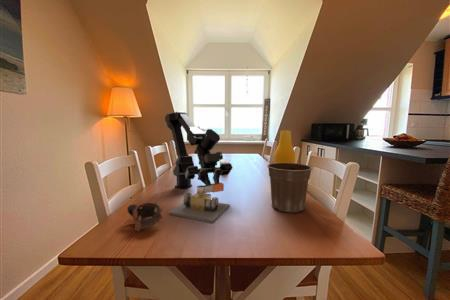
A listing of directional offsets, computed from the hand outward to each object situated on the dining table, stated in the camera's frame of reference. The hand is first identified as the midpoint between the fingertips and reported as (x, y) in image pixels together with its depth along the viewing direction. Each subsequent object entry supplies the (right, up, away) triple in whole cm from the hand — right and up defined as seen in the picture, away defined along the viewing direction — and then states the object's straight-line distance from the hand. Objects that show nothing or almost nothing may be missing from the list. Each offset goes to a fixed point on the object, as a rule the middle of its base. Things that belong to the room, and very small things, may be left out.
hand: (214, 189), depth 80 cm
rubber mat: (-5, -7, -3) cm, 9 cm away
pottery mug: (-21, -8, -14) cm, 27 cm away
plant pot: (+28, -7, +1) cm, 29 cm away
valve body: (-5, -7, -3) cm, 9 cm away
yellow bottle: (+31, -5, +17) cm, 36 cm away
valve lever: (-2, 0, -2) cm, 3 cm away
